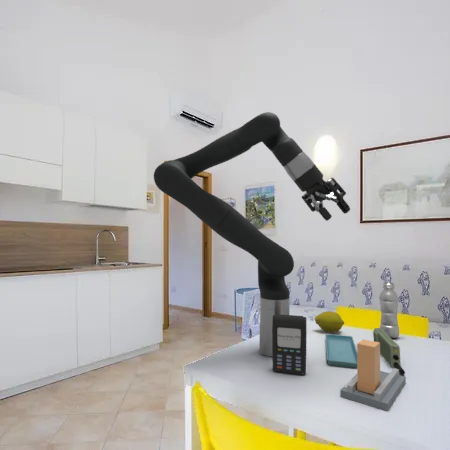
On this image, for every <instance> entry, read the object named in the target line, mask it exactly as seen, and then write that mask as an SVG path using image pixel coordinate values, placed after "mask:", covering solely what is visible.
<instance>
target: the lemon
mask: <svg viewBox="0 0 450 450" xmlns="http://www.w3.org/2000/svg"><path fill="white" fill-rule="evenodd" d="M314 319H315V324H317V326H319V328H320V329H321V330H323V331H325V332H326V333H327V332H328V333H336V332H337V333H338V332H339V331H341V329H342V327H343V326H344V324H345V321H344V320H343V318H342V316H341V315H340V314H339V313H338V312H335V311H332V310H331V311H323V312H320V314H317V315H316V316H315V317H314Z"/></svg>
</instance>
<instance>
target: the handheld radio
mask: <svg viewBox="0 0 450 450" xmlns="http://www.w3.org/2000/svg"><path fill="white" fill-rule="evenodd" d="M372 334H373V341H374V342H380V356H382V358H383V357H384V358H383V359H384V360H385V361H386V363H388V365H389V367H391V369H393V368H395V369H399V375H401V376H403V375H405V374H406V371H405V370H404V369H403V367H402V366H401V365H402V363H401V351H400V350H401V349H400V345H399V344H397V343H396V341H394V340H393V338H390V337H389V336H388V335H387V334H386V333H385V332H384V331H383V330H382V329H381V328H380V327H375V328H374V329H373V331H372Z"/></svg>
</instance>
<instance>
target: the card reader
mask: <svg viewBox="0 0 450 450" xmlns="http://www.w3.org/2000/svg"><path fill="white" fill-rule="evenodd" d="M271 358H272V371H274V372H276V373H282V374H283V373H284V374H291V375H301V376H303V375H306V371H307V316H304V315H295V314H294V315H291V314H289V315H281V314H276V315H273V321H272V357H271Z"/></svg>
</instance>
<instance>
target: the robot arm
mask: <svg viewBox="0 0 450 450" xmlns="http://www.w3.org/2000/svg"><path fill="white" fill-rule="evenodd" d="M259 143H262V144H263V145H264V146H265V147H267V149H268V150H269V151H270V152H271V153H272V154H273V156H274V157H275V159H276V160H277V161H278V163H280V165H281V166H282V168H283V169H284V170H285V171H286V174H287V175H288V176H289V177H290V179H291V180H292V181H293V183H294V184H295V185H296V186H297V187H298V189H299V190H300V191H301V192H302V193H304V194H303V195H302V196H301V198H302V200H303V201H304V203H305V204H306V205H307V207H308V208H309V210H310V211H311V212H313V213H314V212H317V213H318V214H320V216H321V217H322V218H323V220H325V221H329V220H331V218H332V214H331V213H330V212H329V211H328V209H327V208H326V207H325V206H324V201H332V202H334V203H336V206H337V207H338V208H339V210H341V212H342V214H348V213H349V212H350V211H351V208H350V205H349V204H348V203H347V201H346V200H345V198H344V197H345V195H347V192H346V191H345V190H344V188H343V187H342V186H341V185H340V184H339V182H337V180H336V179H335V178H334V177H330V178H329V179H327V181H326V180H324V179H323V178H324V173H322V171H321V170H320V169H319V168H318V167H317V165H316V164H315V163H314V161H313V160H312V159H311V158H310V156H308V154H307V153H305V152H304V151H303V149H302V148H301V147H300V146H299V144H298V143H297V142H296V141H295V140H294V139H293V138H292V137H290V136H288V134H287V133H286V132H285V131H284V130H283V129H282V127H281V121H280V118H279V116H278V115H277V114H275V113H273V112H272V111H271V112H269V111H268V112H267V111H266V112H263V113H260V114H258V115H257V116H254V117H253V118H252V119H250V120H249V121H247V122H246V123H244V124H243V125H241V126H240V127H237V128H236V129H234V130H232V131H230V132H228V133H225V135H222V136H220V137H219V138H217V139H215V140H213V141H212V142H210V143H208V144H206V145H205V146H203V147H202V148H200V149H198V150H195V151H193V152H192V153H190V154H188V155H185V156H182V157H178V158H175V159H171V160H170V159H169V160H166V161H164V162H162V163H161V164H159V165H158V166H157V167H156V168H155V169H154V173H153V181H154V183H155V185H156V188H158V189H159V191H161V192H162V193H164V194H165V195H167V196H168V197H170V198H171V199H173V200H175V201H176V202H178V203H180V204H181V205H183V206H184V207H185V208H187V209H188V210H189V211H190V212H192V214H194V215H195V217H197V218H198V219H200V221H202V222H203V224H205V225H207V226H208V227H209V228H210V229H211V230H212V231H213V232H215V233H216V234H217V235H219V236H220V237H221V238H222V239H224V240H225V241H228V242H229V243H231V244H232V245H234V246H236V247H238V249H239V248H240V249H242V250H243V251H244V252H247V253H248V254H250V255H251V256H252V257H254V258H255V259H256V260H257V283H258V290H259V292H260V293H259V294H260V295H259V300H260V303H259V308H260V309H259V314H260V315H259V345H258V346H259V355H263V356H266V357H267V356H268V357H271V358H273V357H272V321H273V315H276V314H281V315H290V290H289V287H288V286H287V284H286V280H285V279H286V276H288V275H290V274H291V273H292V272H293V270H294V268H295V267H294V266H295V261H294V257H293V256H292V254H291V253H290V252H289V250H287V249H286V248H284V247H283V246H282V245H279V244H278V243H277V242H275V241H273V240H272V239H271V238H269V237H267V235H265V234H264V233H263V232H261V231H260V229H258V228H257V227H256V226H255V225H254V224H253V223H252V222H251V221H250V220H249V219H247V218H246V217H245V216H244V215H243V214H242V213H240V211H237V209H236V208H234V207H233V206H232V205H230V204H229V203H228V202H227V201H225V200H223V199H221V198H219V197H218V196H216V195H213V194H212V193H209V191H206V190H204V189H203V188H202V187H200V185H198V184H197V183H196V182H195V181H194V180H193V178H195V177H196V176H197V175H199V174H201V173H202V172H204V171H206V170H208V169H210V168H213V167H215V166H218V165H221V164H223V163H226V162H228V161H230V160H232V159H234V158H236V157H238V156H240V155H242V154H244V153H246V152H248V151H249V150H251V149H252V147H254V146H256V145H258V144H259ZM338 191H339V192H338Z"/></svg>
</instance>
